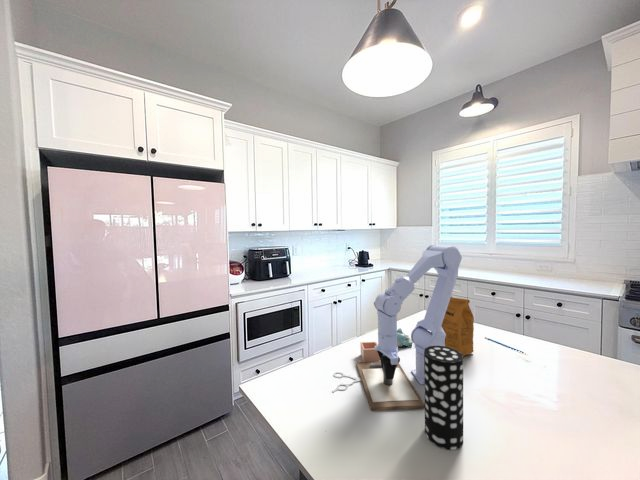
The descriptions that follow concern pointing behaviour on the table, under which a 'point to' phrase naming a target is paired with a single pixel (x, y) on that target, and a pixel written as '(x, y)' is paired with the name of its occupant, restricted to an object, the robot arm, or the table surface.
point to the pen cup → (369, 352)
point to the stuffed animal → (403, 339)
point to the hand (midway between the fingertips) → (388, 375)
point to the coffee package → (459, 326)
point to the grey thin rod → (502, 344)
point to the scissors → (345, 384)
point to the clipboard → (388, 389)
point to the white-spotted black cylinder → (443, 396)
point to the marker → (386, 381)
